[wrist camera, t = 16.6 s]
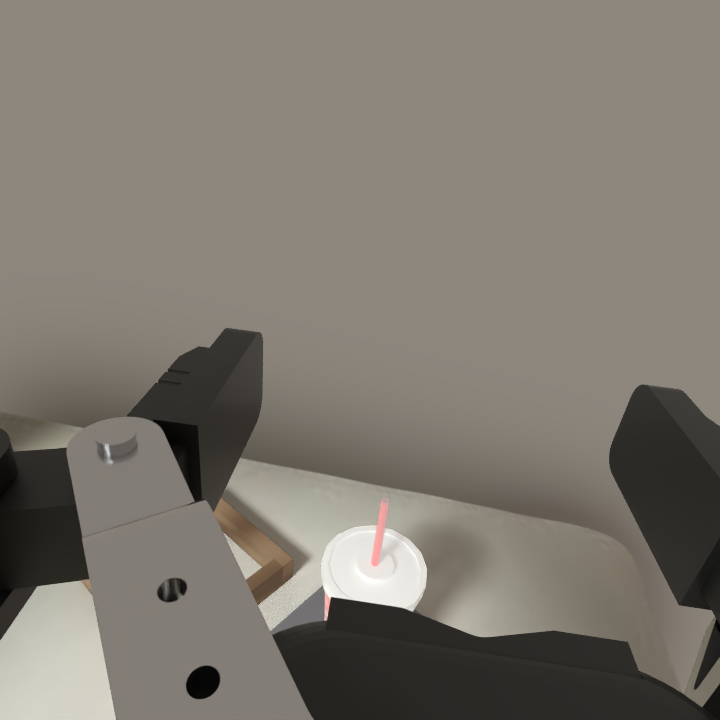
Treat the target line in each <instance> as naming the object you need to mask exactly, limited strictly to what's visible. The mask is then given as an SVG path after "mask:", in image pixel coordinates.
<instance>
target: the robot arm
mask: <svg viewBox="0 0 720 720" xmlns="http://www.w3.org/2000/svg"><path fill="white" fill-rule="evenodd" d="M262 377H263V338H262V334H261V333H260V332H253V331H246V330H238V329H231V328H226V329H224V331H223V332H222V333H221V335H220V336H219V337H218V338H217V339H216V341H215V342H214V343H213V344H212V346H211V347H210V348H206V347H197V348H195V349H193V350H191V351H189V352H187V353H185V354H183V355H181V356H179V357H178V359H177V360H176V361H175V362H174V363H173V364H172V365H171V367H170V368H169V369H168V372H165V373H164V374H163V375H162V377H161V378H160V379H159V381H158V383H155V385H154V386H153V387H152V388H151V389H150V390H149V391H148V393H147V394H146V395H145V396H144V397H143V398H142V399H141V401H140V402H139V403H138V404H137V405H136V406H135V407H134V408H133V410H132V411H131V412H130V413H129V414H128V415H127V416H126V417H117V418H111V419H106V420H102V421H99V422H97V423H94V424H92V425H90V426H88V427H86V428H84V429H82V430H81V431H79V432H78V433H77V434H76V435H75V436H74V437H73V438H72V439H71V440H70V442H69V444H68V446H67V448H59V449H45V450H31V451H17V452H13V449H12V446H11V442H10V438H9V436H8V434H7V433H6V432H5V431H4V430H2V429H0V640H1V639H2V637H3V636H4V634H5V633H6V631H7V630H8V628H9V627H10V625H11V624H12V622H13V621H14V620H15V618H16V617H17V615H18V614H19V612H20V611H21V609H22V608H23V606H24V605H25V603H26V602H27V600H28V599H29V598H30V596H31V595H32V593H33V592H34V590H35V589H36V587H37V586H42V585H49V584H57V583H64V582H72V581H80V580H87V579H90V584H91V589H92V595H93V600H94V605H95V610H96V616H97V621H98V626H99V631H100V637H101V642H102V647H103V653H104V658H105V663H106V668H107V674H108V679H109V684H110V689H111V695H112V700H113V705H114V711H115V716H116V720H720V426H719V425H717V424H715V423H714V422H713V421H711V420H710V419H708V418H707V417H706V416H705V415H704V414H703V413H702V412H701V411H700V410H699V409H698V407H697V406H696V405H695V404H694V403H693V402H692V400H691V399H690V398H689V397H688V396H687V395H686V394H685V393H684V392H683V391H682V390H679V389H673V388H665V387H657V386H650V385H640V386H638V387H637V388H636V389H635V390H634V392H633V394H632V396H631V398H630V401H629V403H628V406H627V408H626V410H625V413H624V415H623V418H622V420H621V422H620V425H619V427H618V430H617V432H616V434H615V437H614V439H613V442H612V445H611V448H610V454H609V464H610V469H611V472H612V475H613V477H614V479H615V481H616V483H617V485H618V487H619V488H620V490H621V492H622V494H623V496H624V498H625V500H626V502H627V504H628V506H629V508H630V510H631V512H632V514H633V516H634V518H635V520H636V522H637V524H638V526H639V528H640V530H641V532H642V533H643V536H644V538H645V539H646V541H647V543H648V545H649V547H650V549H651V551H652V553H653V555H654V557H655V559H656V561H657V563H658V565H659V567H660V569H661V571H662V573H663V575H664V577H665V579H666V580H667V582H668V585H669V587H670V589H671V591H672V593H673V594H674V596H675V598H676V600H677V602H678V604H679V605H681V606H688V607H694V608H701V609H708V610H712V611H713V613H714V615H715V617H714V619H713V620H712V622H711V623H710V625H709V626H708V628H707V630H706V632H705V635H704V638H703V641H702V644H701V647H700V650H699V652H698V655H697V658H696V661H695V664H694V667H693V670H692V673H691V676H690V679H689V682H688V685H687V688H686V691H685V694H682V693H681V692H679V691H677V690H676V689H674V688H672V687H671V686H669V685H667V684H666V683H664V682H662V681H659V680H657V679H655V678H653V677H651V676H649V675H647V674H645V673H643V672H640V671H639V670H638V668H637V665H636V662H635V660H634V657H633V655H632V652H631V649H630V647H629V644H628V642H624V641H618V640H611V639H604V638H598V637H591V636H585V635H578V634H572V633H565V632H559V631H546V632H536V633H526V634H517V635H507V636H497V637H477V636H473V635H471V634H468V633H465V632H463V631H460V630H458V629H455V628H453V627H450V626H448V625H445V624H443V623H440V622H438V621H435V620H432V619H430V618H427V617H425V616H422V615H420V614H417V613H415V612H412V611H410V610H407V609H405V608H401V607H395V606H388V605H381V604H375V603H368V602H362V601H355V600H349V599H342V598H336V597H331V599H330V605H329V611H328V617H327V620H325V621H315V622H310V623H305V624H301V625H296V626H293V627H290V628H288V629H285V630H282V631H279V632H277V633H275V634H273V635H272V634H271V632H270V630H269V628H268V626H267V624H266V622H265V620H264V618H263V615H262V613H261V611H260V609H259V607H258V605H257V603H256V601H255V599H254V597H253V595H252V592H251V590H250V588H249V586H248V584H247V582H246V580H245V578H244V576H243V574H242V572H241V569H240V567H239V565H238V563H237V561H236V559H235V557H234V555H233V553H232V551H231V548H230V546H229V544H228V542H227V540H226V538H225V536H224V534H223V532H222V530H221V528H220V525H219V523H218V521H217V519H216V517H215V515H214V511H215V509H216V507H217V504H218V502H219V500H220V498H221V496H222V494H223V492H224V490H225V488H226V486H227V483H228V481H229V479H230V477H231V475H232V473H233V471H234V469H235V467H236V465H237V463H238V460H239V458H240V456H241V454H242V452H243V450H244V448H245V446H246V444H247V442H248V439H249V437H250V435H251V433H252V431H253V429H254V427H255V424H256V423H257V420H258V417H259V413H260V409H261V402H262Z"/></svg>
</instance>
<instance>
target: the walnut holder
mask: <svg viewBox="0 0 720 720" xmlns="http://www.w3.org/2000/svg"><path fill="white" fill-rule="evenodd" d="M214 515H215V517H216V519H217V521H218V523H219V525H220V528H221V530H222V531H223V532H224V533H225V534H226V535H227V536H228V537H230V538H231V539H232V540H233V541H234V542H235V543H236V544H237V545H238V546H240V547H241V548H242V549H243V550H244V551H245V552H246V553H247V554H248V555H250V556H251V557H252V558H253V559H254V560H255V561H256V562H257V563H258V564H260V565H261V566H262V568H261V569H260V570H258V571H257V572H256V573H254V574H253V575H252V576H250V577H249V578H248V579H246V582H247V584H248V586H249V588H250V590H251V592H252V595H253V597H254V599H255V601H256V603H257V605H258V604H259V603H261V602H262V601H263V600H264V599H266V598H267V597H268V596H269V595H270V594H272V593H273V592H274V591H275V590H277V589H278V588H279V587H280V586H282V585H283V584H284V583H285V582H287V581H288V580H289V579H290V578H291V577H292V569H293V558H291V557H290V556H289V555H288V554H287V553H285V552H284V551H283V550H282V549H281V548H280V547H278V546H277V545H276V544H275V543H274V542H272V541H271V540H270V539H269V538H268V537H267V536H265V535H264V534H263V533H262V532H261V531H259V530H258V529H257V528H256V527H255V526H254V525H252V524H251V523H250V522H249V521H248V520H247V519H245V518H244V517H243V516H242V515H241V514H239V513H238V512H237V511H236V510H235V509H234V508H232V507H231V506H230V505H229V504H228V503H226V502H225V501H224V500H223V499H222V498H220V500H219V502H218V504H217V507H216V509H215V511H214ZM81 581H82V582H83V584H84V585H85V586H86V588H87V589H88V590H89V592H90V593H91V594H92V589H91V584H90V579H87V580H81Z"/></svg>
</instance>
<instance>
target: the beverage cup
mask: <svg viewBox="0 0 720 720" xmlns="http://www.w3.org/2000/svg"><path fill="white" fill-rule="evenodd" d="M389 503H390V499H389V498H387V497H383V498H382V499H381V503H380V510H379V516H378V522H377V526H374V525H372V526H360V527H353V528H351V529H349V530H346V531H344V532H342V533H340V534H338V535H337V536H336V537H335V538H334V539H333V540H332V541H331V542H330V543H329V544H328V545H327V546H326V549H325V552H324V555H323V559H322V562H321V569H322V570H321V576H322V582H323V588H324V591H325V619H324V621H325V620H327V617H328V611H329V605H330V599H331V597H336V598H342V599H349V600H355V601H362V602H368V603H375V604H381V605H388V606H395V607H401V608H405V609H407V610H410V611H412V612H413V610H414V609H415V607H416V606H417V604H418V603H419V601H420V600H421V598H422V596H423V592H424V591H425V588H426V579H427V567H426V564H425V562H424V559H423V556H422V554H421V552H420V551H419V550H418V549H417V548H416V546H415V545H414V544H413V543H412V542H411V541H410V540H409V539H408V538H406V537H404V536H403V535H401V534H399V533H397V532H395V531H394V530H392V529H387V528H385V527H386V521H387V515H388V509H389Z"/></svg>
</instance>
